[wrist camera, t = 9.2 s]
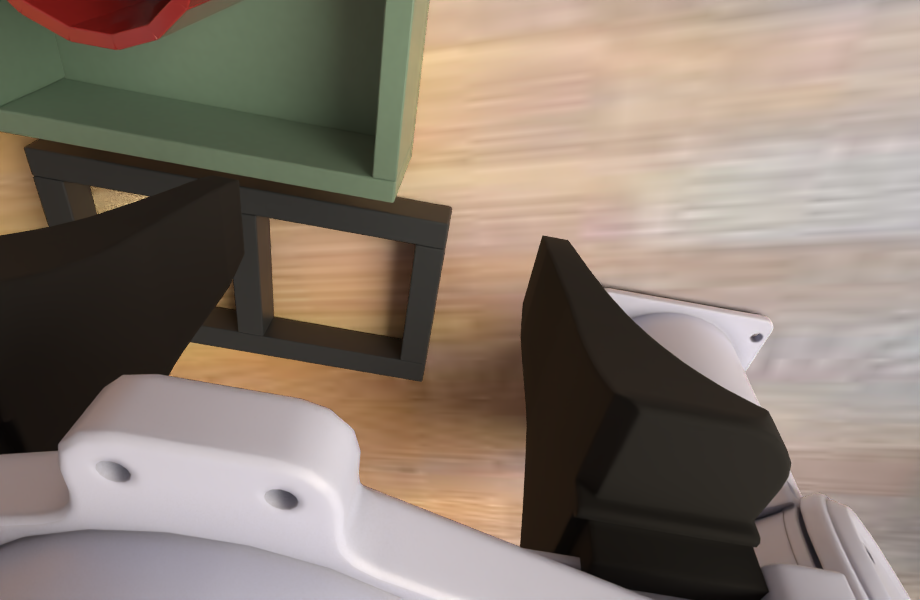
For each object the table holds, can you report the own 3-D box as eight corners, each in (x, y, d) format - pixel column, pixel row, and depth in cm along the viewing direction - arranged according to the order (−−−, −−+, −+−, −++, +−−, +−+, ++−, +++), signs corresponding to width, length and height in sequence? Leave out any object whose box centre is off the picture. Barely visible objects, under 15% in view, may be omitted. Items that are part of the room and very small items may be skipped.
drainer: (426, 361, 29) (422, 382, 27) (97, 304, 28) (78, 323, 27) (452, 206, 23) (449, 224, 22) (48, 132, 23) (22, 146, 22)
